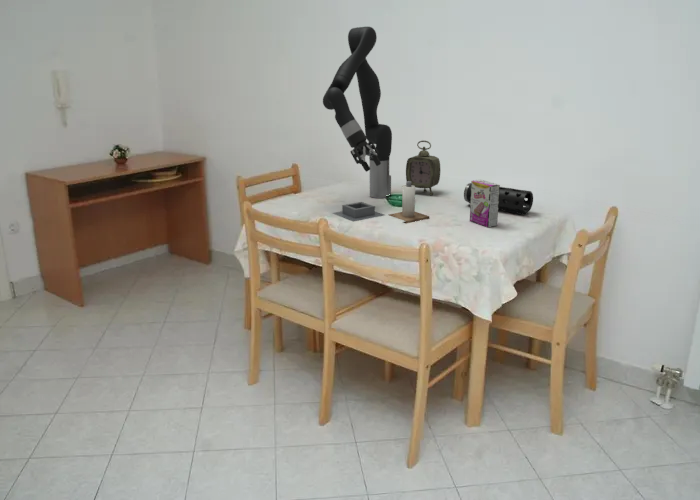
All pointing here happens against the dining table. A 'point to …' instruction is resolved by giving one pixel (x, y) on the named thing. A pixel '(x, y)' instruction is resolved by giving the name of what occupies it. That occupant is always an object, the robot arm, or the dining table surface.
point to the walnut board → (410, 219)
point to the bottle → (408, 200)
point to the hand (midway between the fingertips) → (373, 167)
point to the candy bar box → (484, 203)
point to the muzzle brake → (509, 199)
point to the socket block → (358, 211)
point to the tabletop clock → (423, 169)
